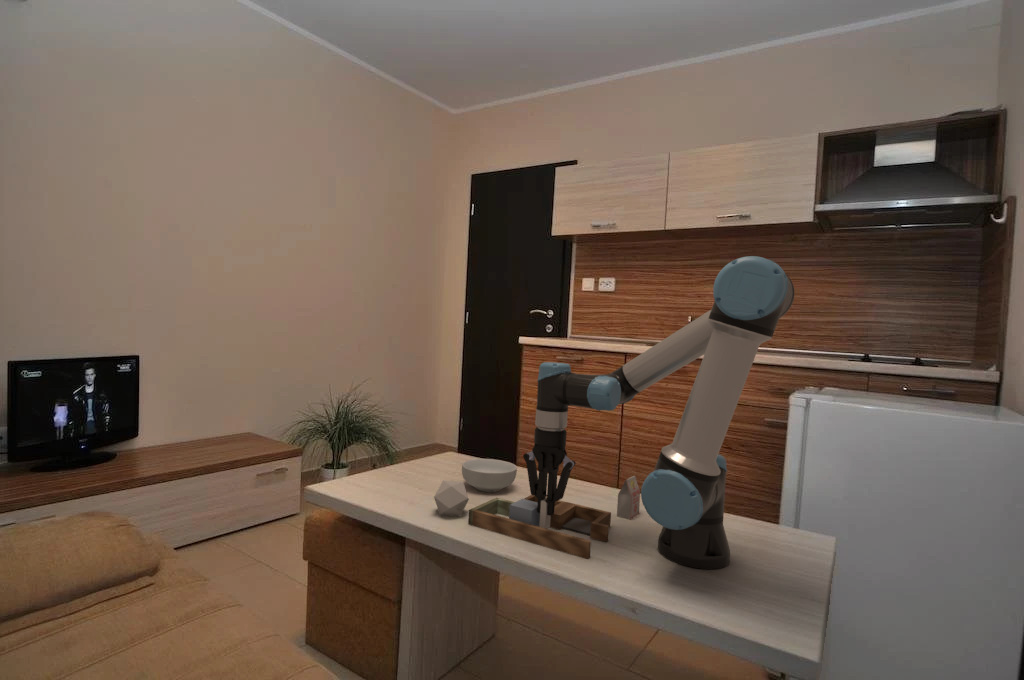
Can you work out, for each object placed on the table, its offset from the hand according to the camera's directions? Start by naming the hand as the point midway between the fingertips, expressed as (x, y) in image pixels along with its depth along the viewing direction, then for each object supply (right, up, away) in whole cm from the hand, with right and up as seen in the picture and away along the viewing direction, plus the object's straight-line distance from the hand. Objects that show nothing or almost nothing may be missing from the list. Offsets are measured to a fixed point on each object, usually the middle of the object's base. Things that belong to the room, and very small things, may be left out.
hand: (544, 527), depth 119 cm
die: (-23, -1, +10) cm, 26 cm away
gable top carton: (+24, -3, +17) cm, 29 cm away
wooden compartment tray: (0, -2, +5) cm, 5 cm away
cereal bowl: (-15, -1, +34) cm, 38 cm away
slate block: (-4, -1, +3) cm, 5 cm away
